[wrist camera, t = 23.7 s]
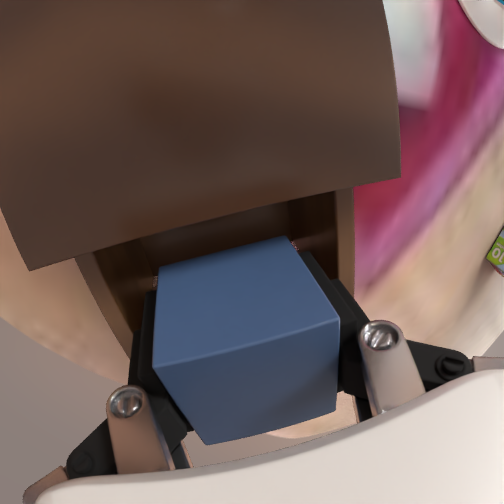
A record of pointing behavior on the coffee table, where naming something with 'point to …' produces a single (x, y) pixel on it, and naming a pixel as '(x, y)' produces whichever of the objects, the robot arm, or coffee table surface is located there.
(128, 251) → the drawer
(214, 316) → the block
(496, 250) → the snack box
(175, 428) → the robot arm
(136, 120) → the cabinet
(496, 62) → the coffee table surface
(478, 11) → the panda figurine
